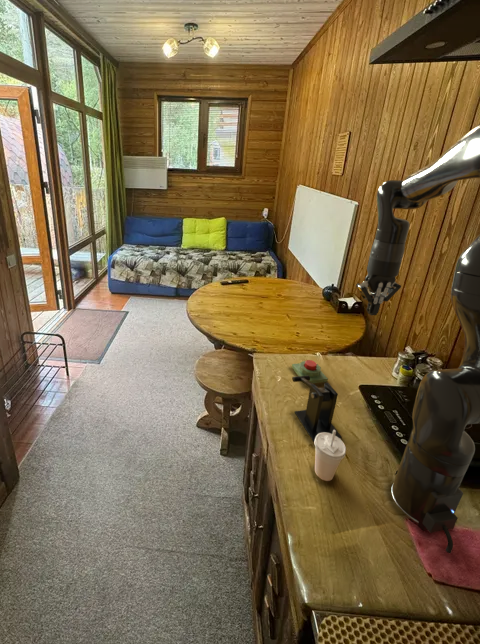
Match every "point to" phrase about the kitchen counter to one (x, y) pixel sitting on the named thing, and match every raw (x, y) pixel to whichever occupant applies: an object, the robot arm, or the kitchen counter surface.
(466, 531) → the kitchen counter surface
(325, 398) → the lever
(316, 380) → the control block
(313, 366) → the button
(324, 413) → the bracket
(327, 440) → the smoothie
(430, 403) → the robot arm
